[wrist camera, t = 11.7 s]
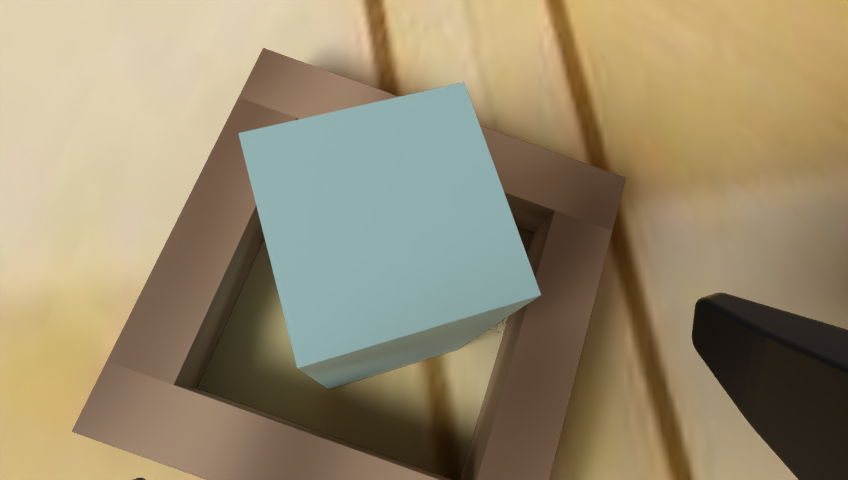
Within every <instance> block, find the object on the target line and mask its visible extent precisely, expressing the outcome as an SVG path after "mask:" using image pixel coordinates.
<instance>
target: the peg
mask: <svg viewBox="0 0 848 480" xmlns="http://www.w3.org/2000/svg"><path fill="white" fill-rule="evenodd" d="M238 134H239V138H240V142H241V146H242V150H243V154H244V158H245V162H246V166H247V170H248V174H249V178H250V182H251V186H252V190H253V194H254V198H255V202H256V206H257V210H258V214H259V218H260V222H261V226H262V230H263V234H264V238H265V242H266V246H267V250H268V254H269V258H270V262H271V266H272V270H273V274H274V278H275V282H276V286H277V290H278V294H279V298H280V302H281V306H282V310H283V314H284V318H285V322H286V326H287V330H288V334H289V338H290V342H291V346H292V350H293V354H294V358H295V362H296V366H297V369H299V370H300V371H302V372H303V373H305V374H306V375H308V376H309V377H311V378H312V379H314V380H315V381H317V382H318V383H320V384H321V385H323V386H324V387H326V388H327V389H332V388H336V387H339V386H342V385H345V384H349V383H352V382H355V381H358V380H362V379H365V378H368V377H371V376H374V375H378V374H381V373H384V372H387V371H391V370H394V369H397V368H400V367H404V366H407V365H410V364H413V363H416V362H420V361H423V360H426V359H429V358H433V357H436V356H439V355H442V354H445V353H449V352H452V351H455V350H458V349H459V348H461V347H462V346H464V345H465V344H467V343H468V342H470V341H471V340H473V339H475V338H476V337H478V336H479V335H481V334H482V333H484V332H485V331H487V330H488V329H490V328H491V327H493V326H494V325H496V324H498V323H499V322H501V321H502V320H504V319H505V318H507V317H508V316H510V315H511V314H513V313H514V312H516V311H518V310H519V309H521V308H522V307H524V306H525V305H527V304H528V303H530V302H531V301H533V300H534V299H536V298H537V297H539V296H541V293H540V290H539V288H538V285H537V282H536V279H535V276H534V274H533V271H532V268H531V265H530V263H529V260H528V257H527V254H526V252H525V249H524V246H523V243H522V241H521V238H520V235H519V232H518V229H517V227H516V224H515V221H514V218H513V216H512V213H511V210H510V207H509V205H508V202H507V199H506V196H505V194H504V191H503V188H502V185H501V183H500V180H499V177H498V174H497V171H496V169H495V166H494V163H493V160H492V158H491V155H490V152H489V149H488V147H487V144H486V141H485V138H484V136H483V133H482V130H481V127H480V124H479V122H478V119H477V116H476V113H475V111H474V108H473V105H472V102H471V100H470V97H469V94H468V91H467V89H466V86H465V83H464V82H462V83H458V84H453V85H449V86H445V87H440V88H436V89H431V90H427V91H422V92H418V93H414V94H409V95H405V96H400V97H396V98H391V99H387V100H383V101H378V102H374V103H369V104H365V105H361V106H356V107H352V108H347V109H343V110H338V111H334V112H330V113H325V114H321V115H316V116H312V117H307V118H303V119H299V120H294V121H290V122H285V123H281V124H277V125H272V126H268V127H263V128H259V129H254V130H250V131H246V132H241V133H238Z"/></svg>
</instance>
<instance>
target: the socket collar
mask: <svg viewBox="0 0 848 480" xmlns="http://www.w3.org/2000/svg"><path fill="white" fill-rule="evenodd" d="M396 97H399V96H396V95H393V94H390V93H387V92H385V91H382V90H379V89H376V88H374V87H371V86H368V85H365V84H362V83H360V82H357V81H354V80H351V79H348V78H346V77H343V76H340V75H337V74H334V73H332V72H329V71H326V70H323V69H320V68H318V67H315V66H312V65H309V64H306V63H304V62H301V61H298V60H295V59H293V58H290V57H287V56H284V55H281V54H279V53H276V52H273V51H270V50H267V49H265V48H263V50H262V52H261V54H260V56H259V58H258V60H257V62H256V64H255V66H254V68H253V70H252V72H251V74H250V76H249V78H248V80H247V82H246V84H245V86H244V88H243V90H242V92H241V94H240V96H239V98H238V100H237V102H236V104H235V106H234V108H233V110H232V112H231V114H230V116H229V118H228V120H227V122H226V124H225V126H224V128H223V130H222V132H221V134H220V136H219V138H218V140H217V142H216V144H215V146H214V148H213V150H212V152H211V154H210V156H209V158H208V160H207V162H206V164H205V166H204V168H203V170H202V172H201V174H200V176H199V178H198V180H197V182H196V184H195V186H194V188H193V190H192V192H191V194H190V196H189V198H188V200H187V202H186V204H185V206H184V208H183V210H182V212H181V214H180V216H179V218H178V220H177V222H176V224H175V226H174V228H173V230H172V232H171V234H170V236H169V238H168V240H167V242H166V244H165V246H164V248H163V250H162V252H161V254H160V256H159V258H158V260H157V262H156V264H155V266H154V268H153V270H152V272H151V274H150V276H149V278H148V280H147V282H146V284H145V286H144V288H143V290H142V292H141V294H140V296H139V298H138V300H137V302H136V304H135V306H134V308H133V310H132V312H131V314H130V316H129V318H128V320H127V322H126V324H125V326H124V328H123V330H122V332H121V334H120V336H119V338H118V340H117V342H116V344H115V346H114V348H113V350H112V352H111V354H110V356H109V358H108V360H107V362H106V364H105V366H104V368H103V370H102V372H101V374H100V376H99V378H98V380H97V382H96V384H95V386H94V388H93V390H92V392H91V394H90V396H89V398H88V400H87V402H86V404H85V406H84V408H83V410H82V412H81V414H80V416H79V418H78V420H77V422H76V424H75V426H74V428H73V430H72V432H74V433H77V434H80V435H83V436H85V437H88V438H91V439H94V440H97V441H99V442H102V443H105V444H108V445H111V446H113V447H116V448H119V449H122V450H125V451H127V452H130V453H133V454H136V455H139V456H141V457H144V458H147V459H150V460H153V461H155V462H158V463H161V464H164V465H167V466H169V467H172V468H175V469H178V470H181V471H183V472H186V473H189V474H192V475H195V476H197V477H200V478H203V479H206V480H452V479H450V478H447V477H444V476H441V475H438V474H436V473H433V472H430V471H427V470H424V469H422V468H419V467H416V466H413V465H410V464H408V463H405V462H402V461H399V460H396V459H394V458H391V457H388V456H385V455H382V454H380V453H377V452H374V451H371V450H368V449H366V448H363V447H360V446H357V445H354V444H352V443H349V442H346V441H343V440H340V439H338V438H335V437H332V436H329V435H326V434H324V433H321V432H318V431H315V430H312V429H310V428H307V427H304V426H301V425H298V424H296V423H293V422H290V421H287V420H284V419H282V418H279V417H276V416H273V415H270V414H268V413H265V412H262V411H259V410H256V409H254V408H251V407H248V406H245V405H242V404H240V403H237V402H234V401H231V400H228V399H226V398H223V397H220V396H217V395H214V394H212V393H209V392H206V391H203V390H200V389H198V388H197V387H198V385H199V383H200V381H201V378H202V376H203V374H204V372H205V369H206V367H207V365H208V363H209V360H210V358H211V356H212V354H213V351H214V349H215V347H216V345H217V343H218V340H219V338H220V336H221V334H222V331H223V329H224V327H225V325H226V322H227V320H228V318H229V316H230V313H231V311H232V309H233V307H234V304H235V302H236V300H237V298H238V295H239V293H240V291H241V289H242V287H243V284H244V282H245V280H246V278H247V275H248V273H249V271H250V269H251V266H252V264H253V262H254V260H255V257H256V255H257V253H258V251H259V248H260V246H261V244H262V242H263V239H264V234H263V230H262V226H261V222H260V218H259V214H258V210H257V206H256V202H255V198H254V194H253V190H252V186H251V182H250V178H249V174H248V170H247V166H246V162H245V158H244V154H243V150H242V146H241V142H240V138H239V134H238V133H241V132H246V131H250V130H254V129H259V128H263V127H268V126H272V125H277V124H281V123H285V122H290V121H294V120H299V119H303V118H307V117H312V116H316V115H321V114H325V113H330V112H334V111H338V110H343V109H347V108H352V107H356V106H361V105H365V104H369V103H374V102H378V101H383V100H387V99H391V98H396ZM480 127H481V130H482V133H483V136H484V138H485V141H486V144H487V147H488V149H489V152H490V155H491V158H492V160H493V163H494V166H495V169H496V171H497V174H498V177H499V180H500V183H501V185H502V188H503V191H504V194H505V196H506V199H507V202H508V205H509V207H510V210H511V213H512V216H513V218H514V221H515V224H516V226H517V227H520V228H523V229H526V230H528V231H531V232H534V233H533V237H532V240H531V243H530V247H529V250H528V254H527V257H528V260H529V263H530V265H531V268H532V271H533V274H534V276H535V279H536V282H537V285H538V288H539V290H540V293H541V296H539V297H537V298H536V299H534V300H533V301H531V302H530V303H528V304H527V305H525V306H524V307H522V308H521V309H519V310H518V311H516V312H514V313H513V314H511V315H510V316H509V317H508V321H507V324H506V327H505V331H504V334H503V338H502V341H501V344H500V348H499V351H498V354H497V358H496V361H495V364H494V368H493V371H492V374H491V378H490V381H489V385H488V388H487V391H486V395H485V398H484V401H483V405H482V408H481V411H480V415H479V418H478V421H477V425H476V428H475V432H474V435H473V438H472V442H471V445H470V448H469V452H468V455H467V458H466V462H465V465H464V469H463V472H462V475H461V479H460V480H549V479H550V475H551V471H552V467H553V463H554V459H555V455H556V451H557V447H558V443H559V439H560V435H561V431H562V427H563V423H564V420H565V416H566V412H567V408H568V404H569V400H570V396H571V392H572V388H573V384H574V380H575V376H576V372H577V368H578V364H579V361H580V357H581V353H582V349H583V345H584V341H585V337H586V333H587V329H588V325H589V321H590V317H591V313H592V309H593V305H594V302H595V298H596V294H597V290H598V286H599V282H600V278H601V274H602V270H603V266H604V262H605V258H606V254H607V250H608V246H609V242H610V239H611V235H612V231H613V227H614V223H615V219H616V215H617V211H618V207H619V203H620V199H621V195H622V191H623V187H624V183H625V180H626V178H625V177H622V176H619V175H616V174H614V173H611V172H608V171H605V170H602V169H600V168H597V167H594V166H591V165H589V164H586V163H583V162H580V161H577V160H575V159H572V158H569V157H566V156H563V155H561V154H558V153H555V152H552V151H549V150H547V149H544V148H541V147H538V146H535V145H533V144H530V143H527V142H524V141H521V140H519V139H516V138H513V137H510V136H508V135H505V134H502V133H499V132H496V131H494V130H491V129H488V128H485V127H482V126H480Z"/></svg>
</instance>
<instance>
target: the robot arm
mask: <svg viewBox="0 0 848 480" xmlns="http://www.w3.org/2000/svg"><path fill="white" fill-rule="evenodd" d="M692 341H693V344H694V347H695V349H696V351H697V352H698V354H699V355H700V356H701V358H702V359H703V360H704V362H705V363H706V365H707V366H708V367H709V369H710V370H711V372H712V373H713V374H714V376H715V377H716V378H717V380H718V381H719V383H720V384H721V385H722V387H723V388H724V390H725V391H726V392H727V394H728V395H729V396H730V398H731V399H732V401H733V402H734V403H735V405H736V406H737V408H738V409H739V410H740V412H741V413H742V414H743V416H744V417H745V418H746V419H747V421H748V422H749V423H750V425H751V426H752V427H753V428H754V429H755V431H756V432H757V433H758V434H759V435H760V436H761V438H762V439H763V440H764V441H765V442H766V443H767V444H768V446H769V447H770V448H771V449H772V450H773V451H774V452H775V453H776V455H777V456H778V457H779V458H780V459H781V460H782V461H783V463H784V464H785V465H786V466H787V467H788V468H789V469H790V470H791V472H792V473H793V474H794V475H795V476H796V477H797V478H798V480H848V330H847V329H843V328H840V327H836V326H833V325H830V324H826V323H823V322H820V321H816V320H813V319H810V318H806V317H803V316H800V315H796V314H793V313H789V312H786V311H783V310H779V309H776V308H773V307H769V306H766V305H763V304H759V303H756V302H752V301H749V300H746V299H742V298H739V297H736V296H732V295H729V294H726V293H716V294H712V295H709V296H706V297H703V298H700V299H699V300H698V301H697V303H696V305H695V312H694V321H693V330H692ZM133 480H145V479H144V478H136V479H133Z"/></svg>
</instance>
